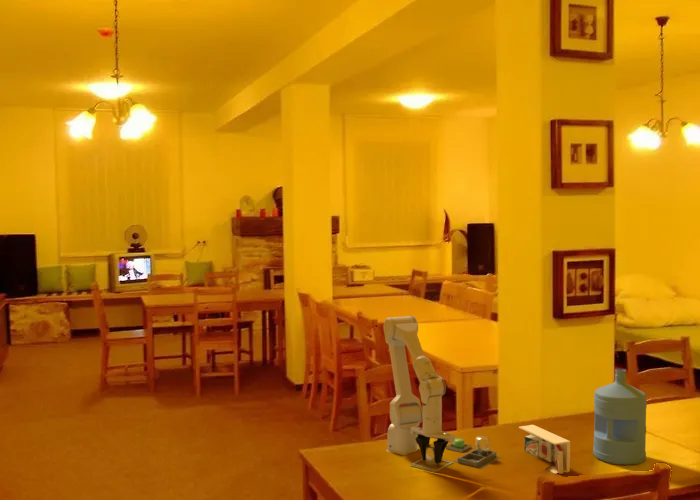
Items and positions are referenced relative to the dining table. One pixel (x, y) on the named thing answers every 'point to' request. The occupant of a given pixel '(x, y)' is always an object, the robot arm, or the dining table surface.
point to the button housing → (459, 448)
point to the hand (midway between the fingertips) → (432, 461)
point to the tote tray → (429, 468)
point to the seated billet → (482, 445)
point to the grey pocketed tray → (477, 459)
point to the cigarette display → (548, 448)
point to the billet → (430, 455)
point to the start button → (458, 443)
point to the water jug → (620, 422)
